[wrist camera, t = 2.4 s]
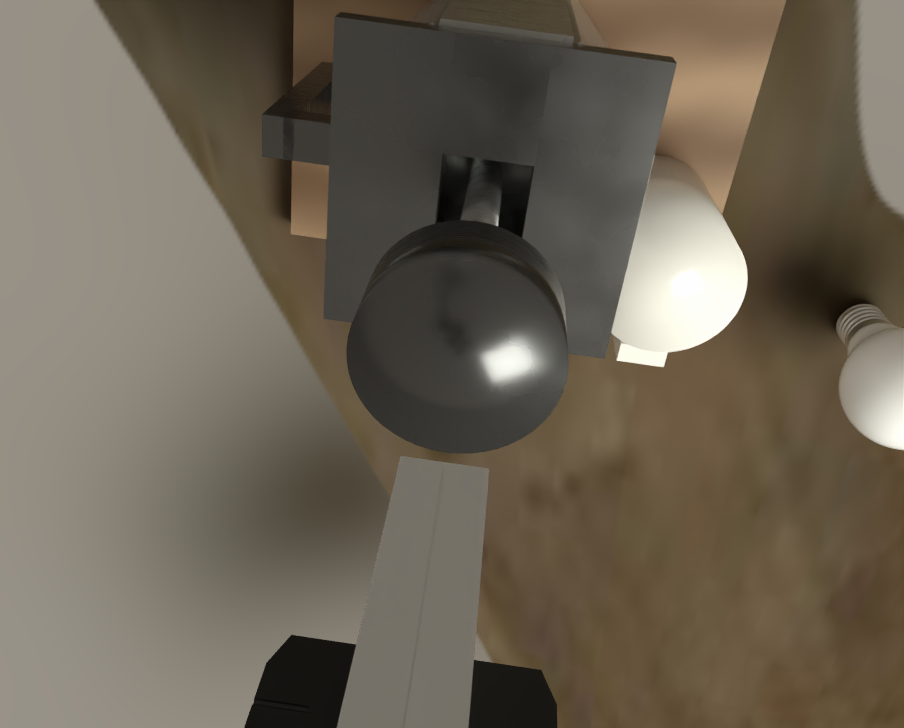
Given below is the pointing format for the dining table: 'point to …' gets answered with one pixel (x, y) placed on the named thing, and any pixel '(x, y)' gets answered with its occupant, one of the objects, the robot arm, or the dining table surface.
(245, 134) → the dining table surface
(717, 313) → the mug
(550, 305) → the plunger
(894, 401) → the lightbulb
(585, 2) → the board
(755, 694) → the dining table surface
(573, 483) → the dining table surface
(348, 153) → the carafe
